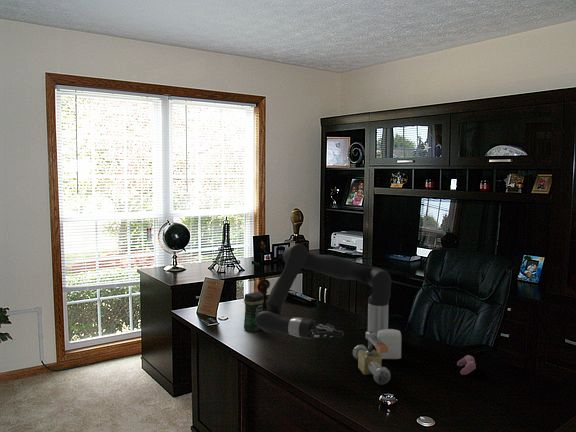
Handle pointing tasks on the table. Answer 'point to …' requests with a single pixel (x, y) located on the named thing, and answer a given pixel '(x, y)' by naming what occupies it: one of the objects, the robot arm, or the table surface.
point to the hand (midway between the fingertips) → (342, 334)
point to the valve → (371, 363)
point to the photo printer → (390, 343)
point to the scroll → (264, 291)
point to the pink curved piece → (467, 365)
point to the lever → (376, 342)
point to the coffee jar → (252, 310)
